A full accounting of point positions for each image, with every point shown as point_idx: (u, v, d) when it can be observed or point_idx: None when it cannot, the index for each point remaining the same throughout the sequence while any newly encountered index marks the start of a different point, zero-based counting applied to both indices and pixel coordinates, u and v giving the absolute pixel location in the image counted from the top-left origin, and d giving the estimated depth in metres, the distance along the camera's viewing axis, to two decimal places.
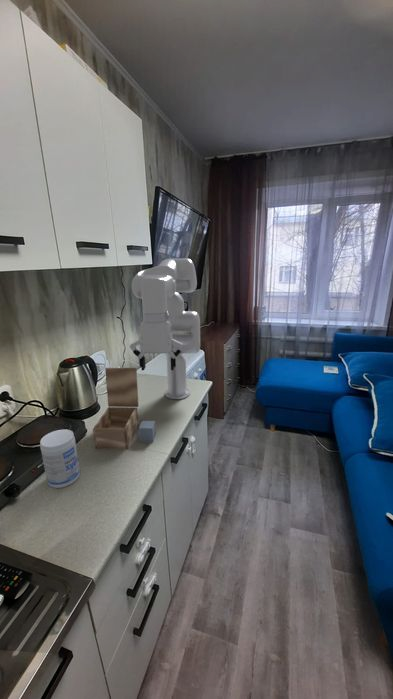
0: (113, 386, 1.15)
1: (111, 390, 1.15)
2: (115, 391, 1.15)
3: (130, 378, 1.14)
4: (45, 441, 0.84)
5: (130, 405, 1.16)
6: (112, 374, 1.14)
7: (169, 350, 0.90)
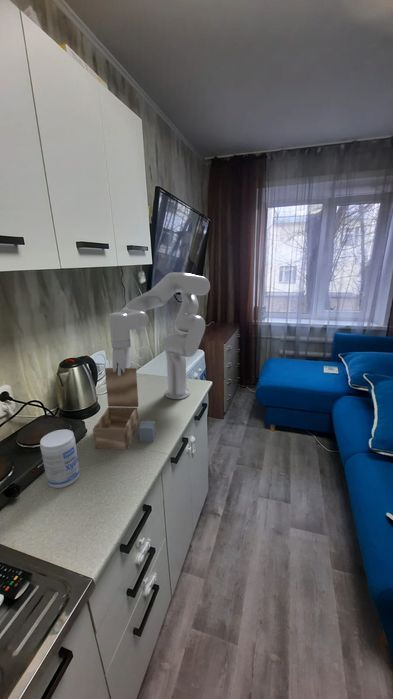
0: (113, 386, 1.15)
1: (111, 390, 1.15)
2: (115, 391, 1.15)
3: (130, 378, 1.14)
4: (45, 441, 0.84)
5: (130, 405, 1.16)
6: (112, 375, 1.14)
7: (130, 363, 1.21)
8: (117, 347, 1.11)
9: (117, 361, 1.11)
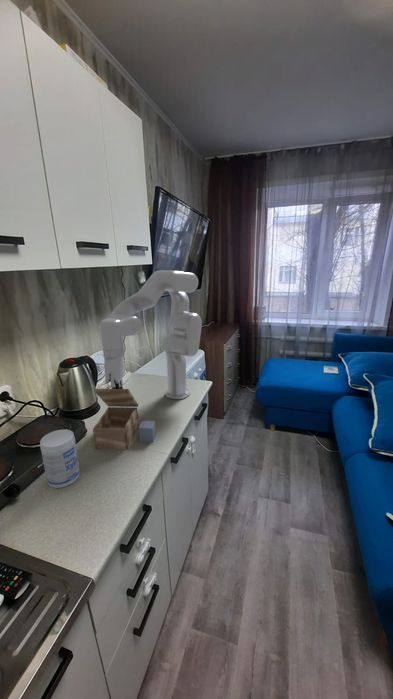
0: (108, 398, 1.09)
1: (107, 400, 1.11)
2: (111, 400, 1.11)
3: (124, 395, 1.06)
4: (45, 441, 0.84)
5: (130, 406, 1.16)
6: (104, 394, 1.05)
7: None
8: (109, 356, 1.02)
9: (110, 371, 1.02)
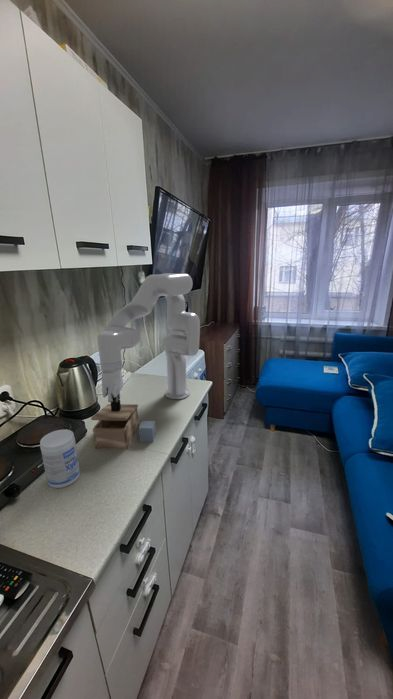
0: None
1: None
2: None
3: None
4: (45, 441, 0.84)
5: None
6: None
7: (122, 385, 1.10)
8: (107, 370, 1.00)
9: (107, 385, 1.00)
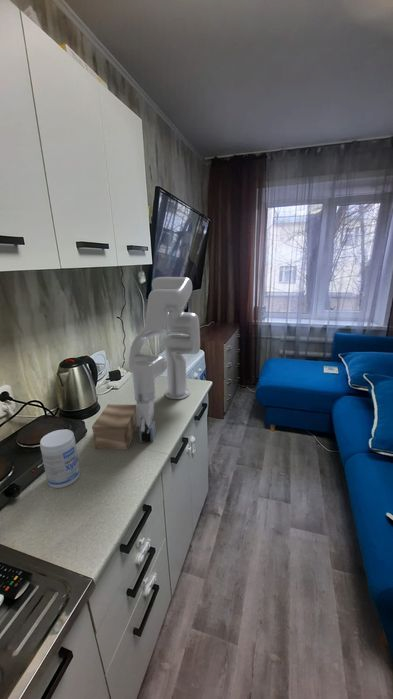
0: None
1: None
2: None
3: None
4: (45, 441, 0.84)
5: None
6: None
7: None
8: (141, 400, 1.01)
9: (142, 415, 1.01)
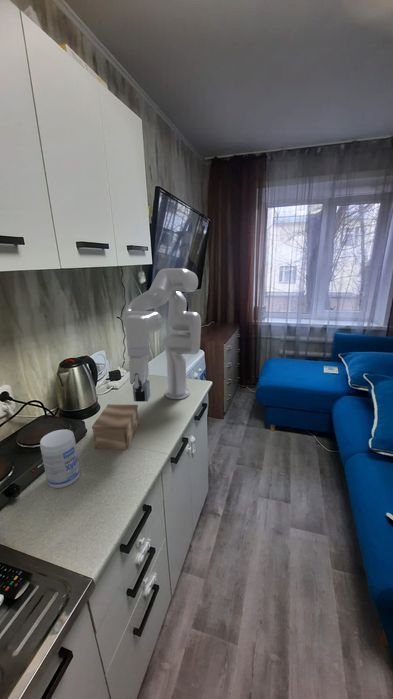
0: None
1: None
2: None
3: None
4: (45, 441, 0.84)
5: None
6: None
7: (148, 372, 1.06)
8: (135, 355, 0.96)
9: (135, 371, 0.96)
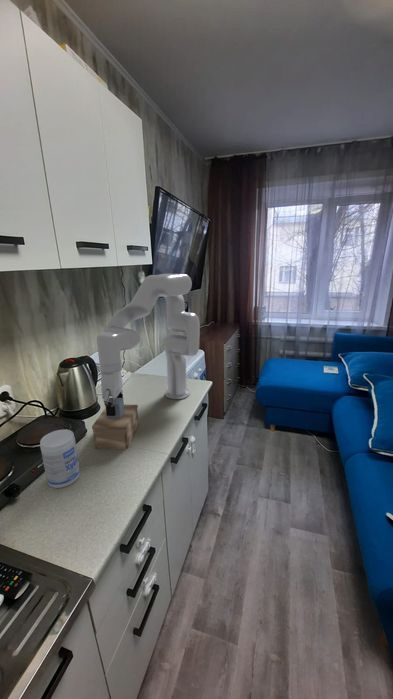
0: None
1: None
2: None
3: None
4: (45, 441, 0.84)
5: None
6: None
7: (122, 387, 1.09)
8: (106, 371, 0.99)
9: (106, 387, 0.99)
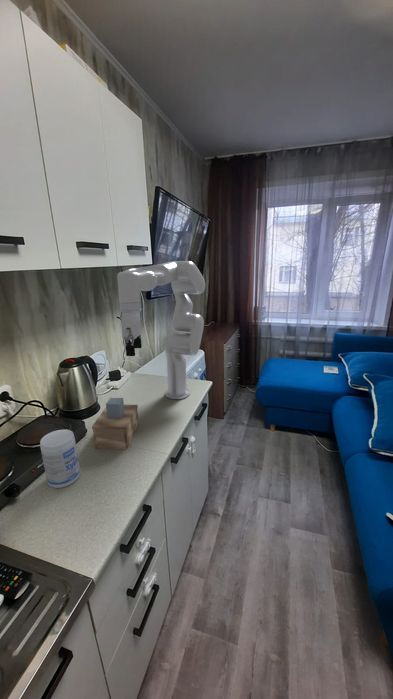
0: None
1: None
2: None
3: None
4: (45, 441, 0.84)
5: None
6: None
7: (140, 331, 1.10)
8: (127, 310, 0.99)
9: (127, 325, 1.00)
